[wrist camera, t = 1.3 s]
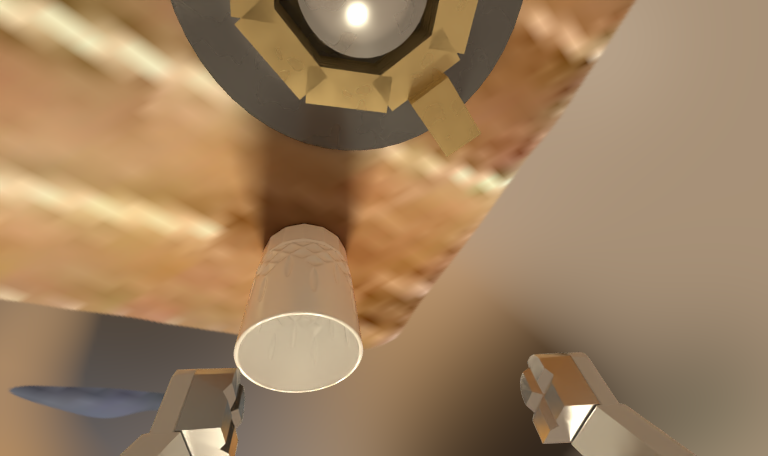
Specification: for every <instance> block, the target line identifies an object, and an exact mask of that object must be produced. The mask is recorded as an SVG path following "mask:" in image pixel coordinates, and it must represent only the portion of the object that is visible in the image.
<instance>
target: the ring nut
mask: <svg viewBox="0 0 768 456" xmlns="http://www.w3.org/2000/svg"><path fill="white" fill-rule="evenodd" d="M477 3H478V0H427V3H426V6H425V9H424V12H423V15H422V19H421V25H420V27H419V28H418V29H417V30H416V31H414V32H413V33H412V34H411V35H410V36H409V37H408V38H407V39H406V40H405V41H404V42H403V43H402V44H401V45H400V46H398V47H397V48H395V49H394V50H392V51H390V52H388V53H387V54H386V55H385V56H383V57H382V58H381V59H380V60H378V61H377V62H376V63H368V62H362V61H355V60H348V59H341V58H334V57H328V56H321V55H319V53H318V52H317V51H316V50H315V48H314V47H313V46H312V44H311V43H310V42H309V41H308V39H307V38H306V37H305V35H304V34H303V33H302V31H301V30H300V29H299V28H298V26H297V25H296V24H295V22H294V21H293V20H292V19H291V17H290V16H289V15H288V13H287V12H286V11H285V9H284V8H283V7H282V6H281V4H280V3H279V0H230V9H231V17H236V18H241V19H239V20H238V21H237V22H236V23H235V24H234V25H235V26H236V27H237V28H238V29H239V31H240V32H241V33H242V34H243V35H244V36H245V37H246V39H247V40H248V41H249V42H250V43H251V44H252V45H253V47H254V48H255V49H256V50H257V51H258V52H259V54H260V55H261V56H262V57H263V58H264V59H265V60H266V62H267V63H268V64H269V65H270V66H271V67H272V69H273V70H274V71H275V72H276V73H277V74H278V75H279V77H280V78H281V79H282V80H283V81H284V82H285V84H286V85H287V86H288V87H289V88H290V89H291V90H292V92H293V93H294V94H295V95H296V96H297V97H298V98H299V100H300V99H301V98H303V97H304V96H305V95H306V103H309V104H317V105H325V106H333V107H341V108H350V109H358V110H366V111H374V112H382V113H387V107H388V106H389V107H390V109H391V110H392V111H393V110H395V109H396V108H397V107H399V106H400V105H401V104H403V103H404V102H405V101H407V100H409V102H410V104H411V105H412V107H413V108H414V110H415V111H416V113H417V114H418V116H419V117H420V118H421V120H422V121H423V123H424V124H425V126H426V127H427V129H428V130H429V132H430V133H431V135H432V136H433V138H434V139H435V141H436V142H437V143H438V145H439V146H440V148H441V149H442V151H443V152H444V154H445V155H446V157H448V156H449V155H451V154H452V153H454V152H455V151H457V150H458V149H460V148H461V147H462V146H464V145H465V144H467V143H468V142H470V141H471V140H473V139H474V138H475V137H477V136H478V135H480V134H481V132H480V130H479V129H478V127H477V125H476V124H475V122H474V120H473V118H472V117H471V115H470V113H469V112H468V110H467V108H466V107H465V105H464V103H463V101H462V100H461V98H460V96H459V95H458V93H457V91H456V90H455V88H454V86H453V84H452V83H451V81H450V79H449V78H448V76H446V75H445V74H444V72H445V71H446V70H448V69H449V68H450V67H452V66H453V65H454V64H455V63H457V62H458V61H459V60H460V58H459V57H458V55H457V53H461V54H464V53H465V49H466V45H467V41H468V38H469V34H470V30H471V26H472V22H473V18H474V14H475V10H476V7H477Z"/></svg>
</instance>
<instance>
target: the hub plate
mask: <svg viewBox="0 0 768 456" xmlns="http://www.w3.org/2000/svg"><path fill="white" fill-rule="evenodd" d="M522 1H523V0H478V3H477V7H476V10H475V14H474V18H473V22H472V26H471V30H470V34H469V38H468V41H467V45H466V49H465V53H464V54H461V53H457V55H458V57H459V58H460V60H459V61H458V62H457V63H455V64H454V65H453V66H452V67H450V68H449V69H448V70H446V71H445V72H444V74H445V75H446V76H448V78H449V79H450V81H451V83H452V84H453V86H454V88H455V90H456V91H457V93H458V95H459V96H460V98H461V100H462V101H463V103H464V104H465V103H466V102H467V101H468V99H469V98H470V97H471V96H472V95H473V94H474V93H475V92H476V91H477V90H478V89H479V87H480V86H481V85H482V83H483V82H484V81H485V79H486V78H487V76H488V75H489V74H490V72H491V71H492V70H493V68H494V66H495V64H496V63H497V61H498V59H499V58H500V56H501V54H502V52H503V51H504V49H505V46H506V44H507V42H508V40H509V38H510V35H511V33H512V31H513V29H514V26H515V23H516V20H517V17H518V14H519V11H520V8H521V5H522ZM171 3H172V5H173V8H174V11H175V14H176V16H177V18H178V20H179V22H180V24H181V27H182V29H183V31H184V33H185V35H186V37H187V39H188V41H189V43H190V44H191V46H192V47H193V49H194V51H195V52H196V54H197V56H198V57H199V59H200V61H201V62H202V64H203V65H204V66H205V67H206V69H207V70H208V71H209V73H210V74H211V75H212V77H213V78H214V79H215V81H216V82H217V83H218V84H219V85H220V86H221V87H222V88H223V89H224V90H225V91H226V92H227V94H228V95H229V96H230V97H231V98H232V99H233V100H234V101H235V102H237V103H238V104H239V105H240V106H241V107H243V108H244V109H245V110H246V111H247V112H248V113H250V114H251V115H252V116H254V117H255V118H257V119H258V120H260V121H261V122H263V123H264V124H266V125H267V126H269V127H271V128H273V129H274V130H276V131H278V132H280V133H282V134H284V135H286V136H288V137H291V138H294V139H296V140H299V141H301V142H304V143H307V144H311V145H315V146H319V147H323V148H330V149H338V150H369V149H377V148H383V147H387V146H391V145H395V144H399V143H402V142H404V141H407V140H409V139H412V138H414V137H417V136H419V135H421V134H423V133H425V132H426V131H428V129H427V127H426V126H425V124H424V123H423V121H422V120H421V118H420V117H419V116H418V114H417V113H416V111H415V110H414V108H413V107H412V105H411V104H410V102H409V100H407V101H405V102H404V103H403V104H401V105H400V106H399V107H397V108H396V109H395V110H393V111H392V110H391V109H390V107H389V106H388V107H387V113H382V112H374V111H366V110H358V109H350V108H341V107H333V106H325V105H317V104H309V103H306V95H305V96H304V97H303V98H301V99H300V100H299V98H298V97H297V96H296V95H295V94H294V93H293V92H292V90H291V89H290V88H289V87H288V86H287V85H286V84H285V82H284V81H283V80H282V79H281V78H280V77H279V75H278V74H277V73H276V72H275V71H274V70H273V69H272V67H271V66H270V65H269V64H268V63H267V62H266V60H265V59H264V58H263V57H262V56H261V55H260V54H259V52H258V51H257V50H256V49H255V48H254V47H253V45H252V44H251V43H250V42H249V41H248V40H247V39H246V37H245V36H244V35H243V34H242V33H241V32H240V31H239V29H238V28H237V27H236V26H235V25H234V24H235V23H236V22H237V21H238V20H239V19H241V18H236V17H231V9H230V0H171ZM279 3H280V4H281V6H282V7H283V8H284V9H285V11H286V12H287V13H288V15H289V16H290V17H291V19H292V20H293V21H294V22H295V24H296V25H297V26H298V28H299V29H300V30H301V31H302V33H303V34H304V35H305V37H306V38H307V39H308V41H309V42H310V43H311V44H312V46H313V47H314V48H315V50H316V51H317V52H318V53H319V55H321V56H328V57H334V58H341V59H348V60H355V61H362V62H368V63H376V62H377V61H378V60H380V59H381V58H382V57H383V56H385V55H386V54H387V53H388V52H390V51H392V50H394V49H395V48H397V47H398V46H400V45H401V44H402V43H403V42H404V41H405V40H406V39H407V38H408V37H409V36H410V35H411V34H412V33H413V32H414V31H416V30H417V29H418V28H419V27H420V25H421V19H422V15H423V12H424V9H425V6H426V3H427V0H279Z"/></svg>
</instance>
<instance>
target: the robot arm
mask: <svg viewBox="0 0 768 456" xmlns="http://www.w3.org/2000/svg"><path fill="white" fill-rule="evenodd" d="M527 363H528V365H529V368H528V369H527V370H525V371H524V372H523V374H522V376H521V379H520V386H521V387H520V389H521V393H522V397H523V399H524V402H525V404H526V406H527V407H529V408H530V409H531V410H532V411H533V412H534V416H533V422H534V425H535V427H536V429H537V431H538V433H539V436H540V438H541V440H542V443H545V444H546V443H566V442H572V445H573V446H574V447H575V448H576V449H577V450H578V451H579V452H580V453H581V454H582V455H583V456H696V455H695V454H694V453H692V452H691V451H689V450H688V449H687V448H685V447H684V446H682V445H681V444H680V443H678V442H677V441H675V440H674V439H673V438H671V437H670V436H668V435H667V434H666V433H664V432H663V431H661V430H660V429H659V428H657V427H656V426H654V425H653V424H651V423H650V422H649V421H648V420H646V419H645V418H643V417H642V416H641V415H639V414H638V413H636V412H635V411H634V410H632V409H631V408H629V407H628V406H627V405H625V404H619V403H618V401H617V400H616V398H615V397H614V395H613V394H612V392H611V391H610V389H609V388H608V386H607V385H606V383H605V382H604V380H603V379H602V377H601V375H600V374H599V373H598V371H597V369H596V368H595V367H594V365H593V363H592V362H591V360H590V359H589V357H588V356H587V355H586V354H584V353H583V352H575V353H549V354H534V355H532V356H530V358H529V360H528V362H527ZM240 379H241V373H240V370H239V368H223V369H222V368H221V369H186V370H177V371H176V372H175V373H174V375H173V376H172V378H171V380H170V383H169V385H168V388H167V390H166V393H165V395H164V398H163V400H162V403H161V405H160V408H159V410H158V412H157V415H156V417H155V420H154V423H153V425H152V427H151V430H150V432H149V433H148V434H142V435H141V436H140V437H139V438H138V439H137V440H136V441H135V442H134V443H132V444H131V445H130V446H129V447H128V448H127V449H126V450H125V451H124V452H123V453H122V454H121V455H120V456H235V453H236V448H237V443H238V438H237V433H236V429H237V427H238V426H239V425H240V424H241V423H242V419H243V413H244V404H245V392H244V387H243V386H242V385H241V384H240Z"/></svg>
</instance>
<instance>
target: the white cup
mask: <svg viewBox="0 0 768 456" xmlns="http://www.w3.org/2000/svg"><path fill="white" fill-rule="evenodd" d="M362 355H363V344H362V339H361V333H360V326H359V320H358V314H357V308H356V301H355V295H354V290H353V286H352V280H351V275H350V271H349V268H348V263H347V256H346V250H345V248H344V247H343V245H342V243H341V241H340V239H339V238H338V236H336V235H335V234H333V233H332V232H330V231H328V230H327V229H325V228H324V227H320V226H315V225H309V224H300V225H294V226H289V227H285V228H283V229H282V230H280V231H279V232H277V233H276V234H274V235H273V236H271V237H270V239H269V241H268V243H267V245H266V247H265V249H264V251H263V254H262V258H261V262H260V264H259V266H258V269H257V272H256V275H255V278H254V282H253V284H252V287H251V291H250V294H249V298H248V301H247V305H246V309H245V312H244V316H243V320H242V323H241V327H240V330H239V334H238V337H237V341H236V344H235V348H234V359H235V363H236V365H237V367H238V368H239V370H240V372H241V373H242V374H243V375H244V376H245V377H246V378H247V379H249V380H250V381H252V382H253V383H255V384H257V385H259V386H262V387H264V388H267V389H271V390H275V391H281V392H290V393H300V392H310V391H316V390H320V389H323V388H327V387H329V386H332V385H334V384H336V383H338V382H340V381H342V380H344V379H345V378H346V377H348V376H349V375H350V374H351V373H352V372H353V371H354V370H355V369H356V368H357V366H358V365H359V363H360V361H361V358H362Z"/></svg>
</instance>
